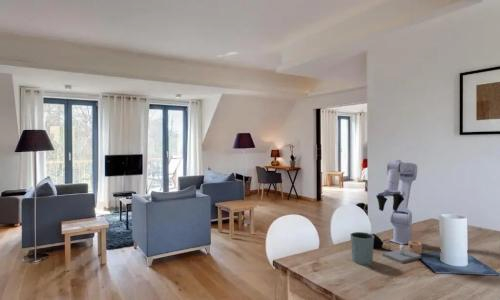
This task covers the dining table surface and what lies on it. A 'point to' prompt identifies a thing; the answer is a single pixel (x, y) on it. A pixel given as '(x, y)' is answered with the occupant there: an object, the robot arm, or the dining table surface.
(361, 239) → the green cup
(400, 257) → the duct plate
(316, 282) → the dining table surface
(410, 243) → the collar
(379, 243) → the light bulb
